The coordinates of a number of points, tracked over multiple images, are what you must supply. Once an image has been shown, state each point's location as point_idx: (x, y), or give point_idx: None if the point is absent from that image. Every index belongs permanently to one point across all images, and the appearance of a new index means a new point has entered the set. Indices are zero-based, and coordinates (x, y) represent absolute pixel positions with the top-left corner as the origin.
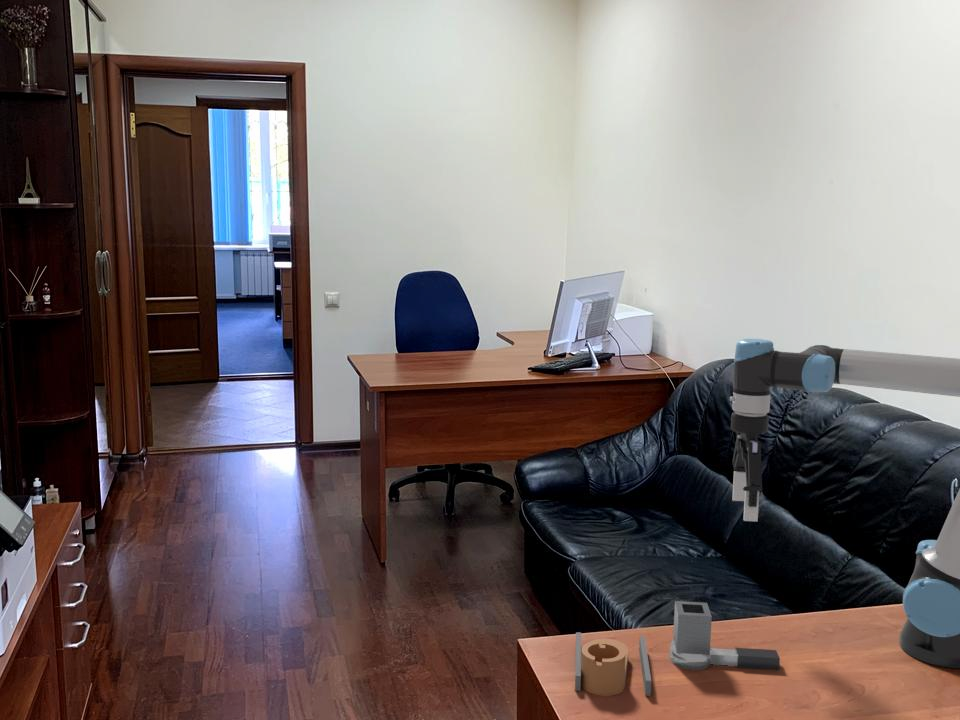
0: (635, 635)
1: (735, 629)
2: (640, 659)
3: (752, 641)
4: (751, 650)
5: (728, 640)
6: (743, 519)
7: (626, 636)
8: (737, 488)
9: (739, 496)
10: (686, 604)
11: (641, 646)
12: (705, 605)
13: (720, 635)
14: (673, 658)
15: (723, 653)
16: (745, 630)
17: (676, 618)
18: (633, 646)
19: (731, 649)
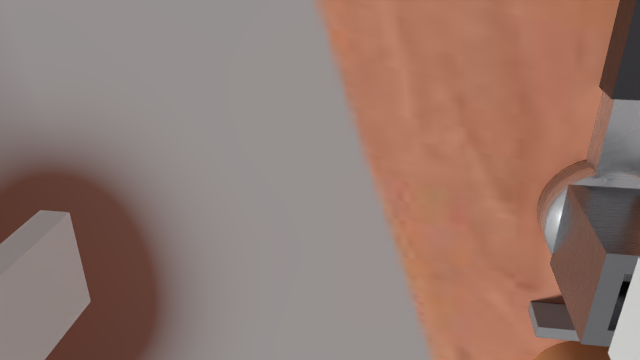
0: (446, 306)
1: (390, 41)
2: None
3: (476, 3)
4: (637, 50)
5: (470, 79)
6: (609, 354)
7: (452, 325)
8: (16, 357)
9: (55, 283)
10: (610, 316)
11: None
12: (631, 263)
13: (436, 97)
14: None
15: (637, 139)
16: (395, 9)
17: None
18: (508, 318)
19: (612, 109)
